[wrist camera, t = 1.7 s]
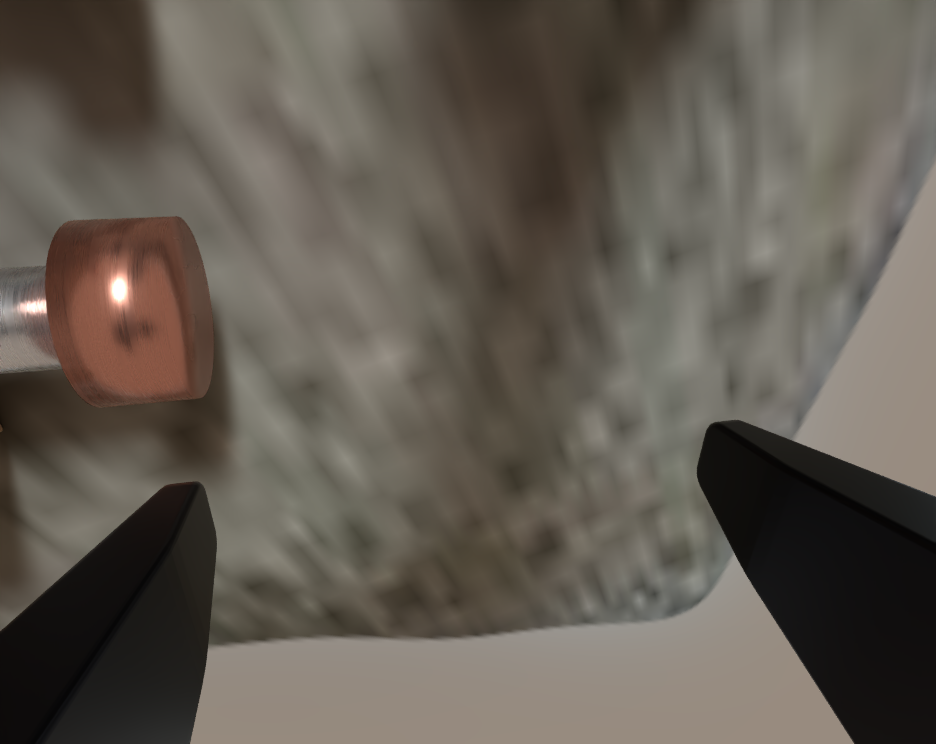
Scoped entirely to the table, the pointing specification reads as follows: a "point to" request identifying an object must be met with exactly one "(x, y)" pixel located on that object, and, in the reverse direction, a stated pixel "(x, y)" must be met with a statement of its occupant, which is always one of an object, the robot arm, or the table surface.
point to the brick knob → (113, 312)
